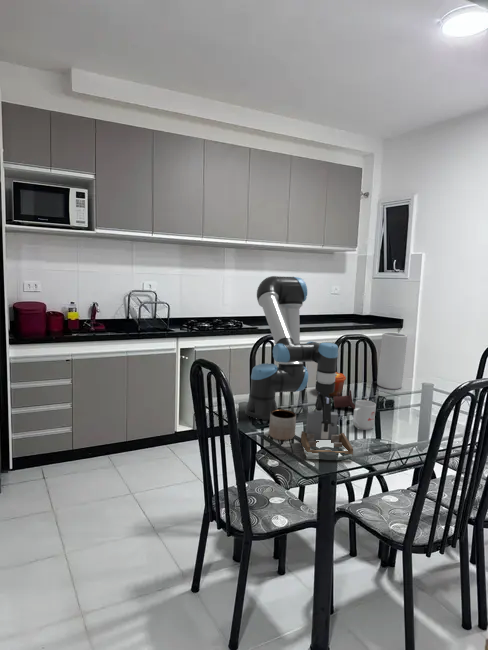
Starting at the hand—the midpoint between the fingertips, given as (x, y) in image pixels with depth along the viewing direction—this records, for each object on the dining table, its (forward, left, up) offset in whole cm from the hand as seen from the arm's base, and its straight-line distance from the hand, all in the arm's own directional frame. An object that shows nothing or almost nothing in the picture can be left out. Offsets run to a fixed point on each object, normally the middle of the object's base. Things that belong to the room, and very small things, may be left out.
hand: (321, 431), depth 187 cm
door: (0, 0, -4) cm, 4 cm away
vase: (+57, +86, -4) cm, 103 cm away
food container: (+17, +66, -4) cm, 68 cm away
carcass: (0, -10, -4) cm, 11 cm away
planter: (-16, +4, -4) cm, 16 cm away
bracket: (+23, +41, -4) cm, 47 cm away
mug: (+21, +17, -4) cm, 27 cm away
